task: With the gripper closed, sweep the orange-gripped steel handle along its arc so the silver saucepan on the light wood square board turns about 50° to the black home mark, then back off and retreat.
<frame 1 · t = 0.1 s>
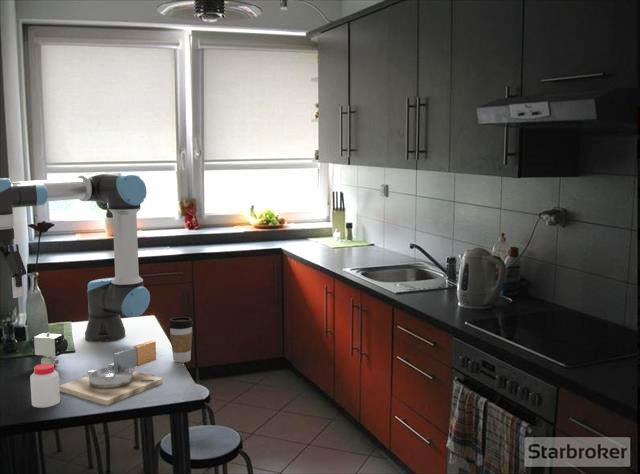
hand: (4, 294, 209), 28 cm above the table, fingers open, 13 cm apart
coffee cup: (182, 360, 233), on the table
pill bottle: (46, 403, 194), on the table
silver saucepan: (125, 363, 211), point 6 cm above the table, hinge at 0.0°
light wood square board: (111, 386, 207), on the table
pneumatic valve: (50, 366, 226), on the table
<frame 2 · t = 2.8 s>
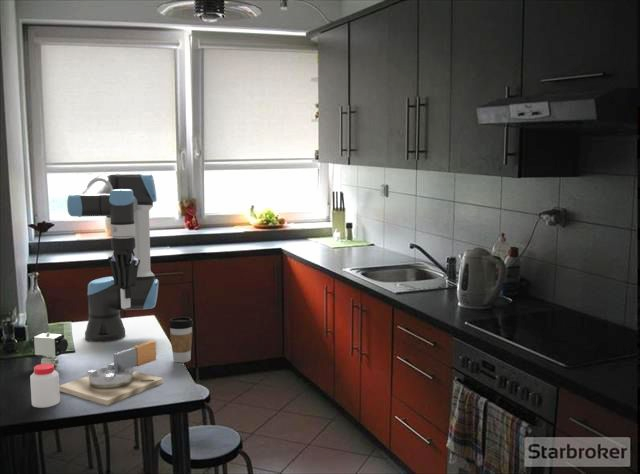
hand: (125, 307, 218), 22 cm above the table, fingers closed
nothing on the table moved.
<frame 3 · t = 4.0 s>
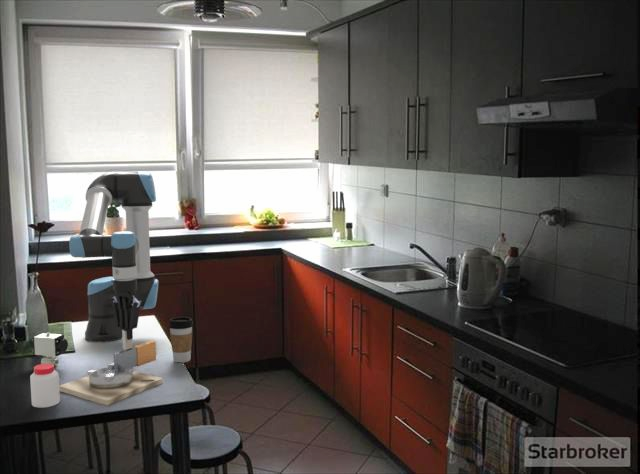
hand: (127, 348, 220), 8 cm above the table, fingers closed
nothing on the table moved.
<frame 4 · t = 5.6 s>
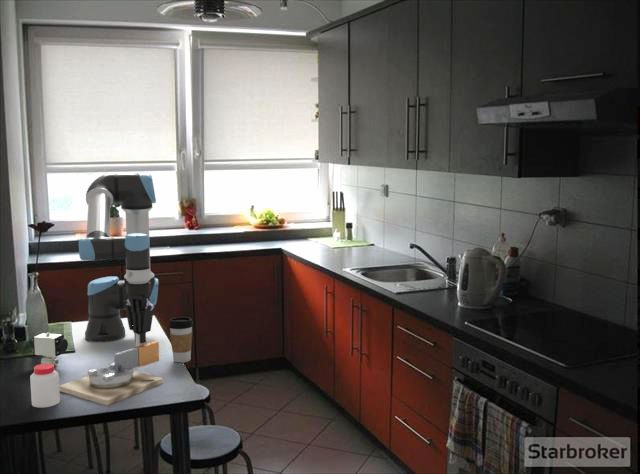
hand: (140, 352, 217), 8 cm above the table, fingers closed
silver saucepan: (126, 363, 211), point 6 cm above the table, hinge at 4.8°, touching gripper
everything else where it was.
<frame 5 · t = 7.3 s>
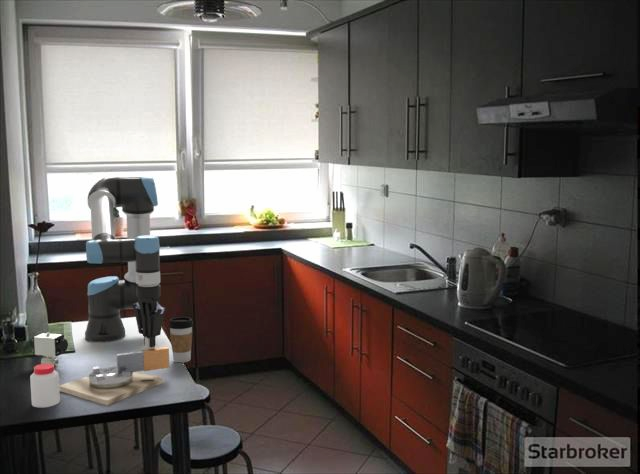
hand: (150, 356, 213), 7 cm above the table, fingers closed
silver saucepan: (129, 365, 208), point 6 cm above the table, hinge at 31.8°, touching gripper
everything else where it was.
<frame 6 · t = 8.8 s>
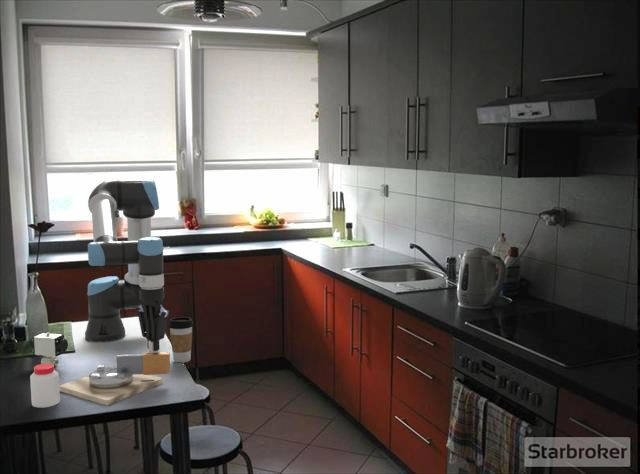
hand: (153, 359, 210), 7 cm above the table, fingers closed
silver saucepan: (129, 367, 207), point 6 cm above the table, hinge at 51.7°, touching gripper
everything else where it was.
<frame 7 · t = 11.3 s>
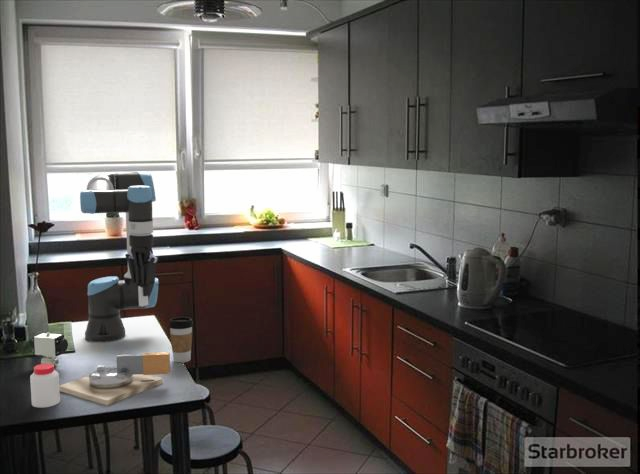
hand: (143, 305, 216), 23 cm above the table, fingers closed
silver saucepan: (129, 367, 207), point 6 cm above the table, hinge at 51.9°
everything else where it was.
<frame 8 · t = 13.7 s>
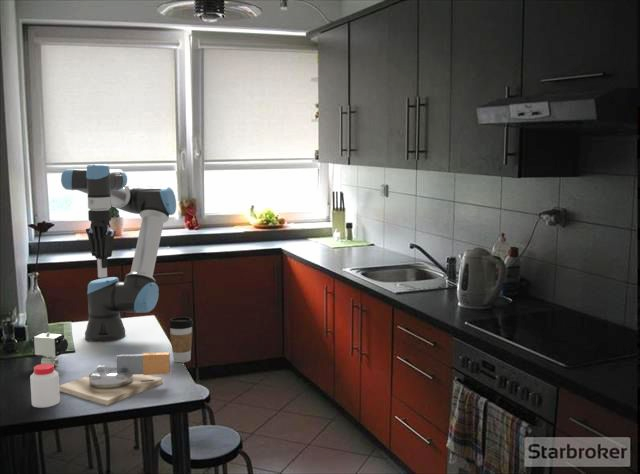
hand: (102, 276, 231), 29 cm above the table, fingers closed
nothing on the table moved.
at the end: silver saucepan at +52° (first picture: +0°) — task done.
